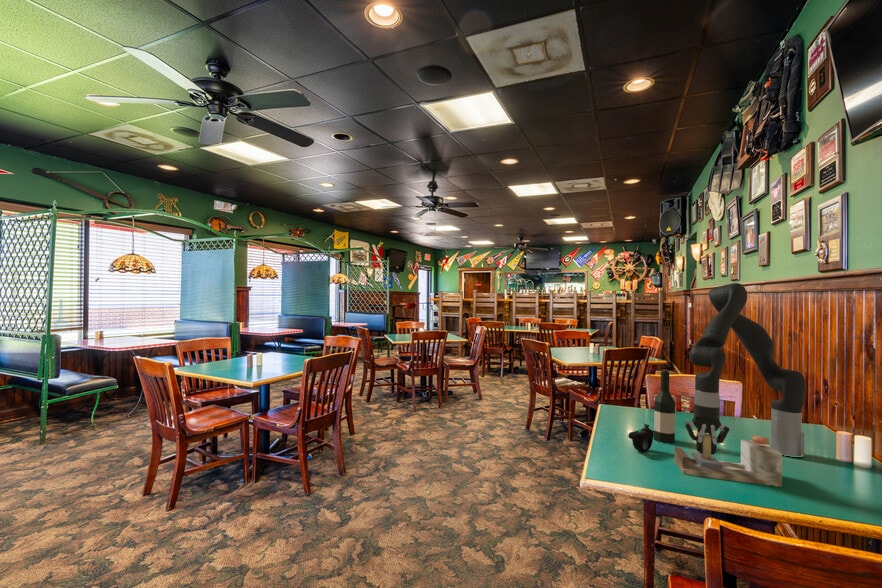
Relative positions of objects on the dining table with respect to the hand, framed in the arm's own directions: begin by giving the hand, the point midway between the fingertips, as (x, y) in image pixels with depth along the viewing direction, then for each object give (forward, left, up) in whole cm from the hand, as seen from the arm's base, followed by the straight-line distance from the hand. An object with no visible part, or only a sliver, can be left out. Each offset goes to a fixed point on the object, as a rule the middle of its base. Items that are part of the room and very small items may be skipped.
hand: (706, 453), depth 140 cm
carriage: (0, 0, -3) cm, 3 cm away
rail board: (-6, 0, -6) cm, 8 cm away
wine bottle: (+6, -30, -6) cm, 31 cm away
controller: (+18, -12, -6) cm, 23 cm away
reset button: (-16, 0, +6) cm, 17 cm away
